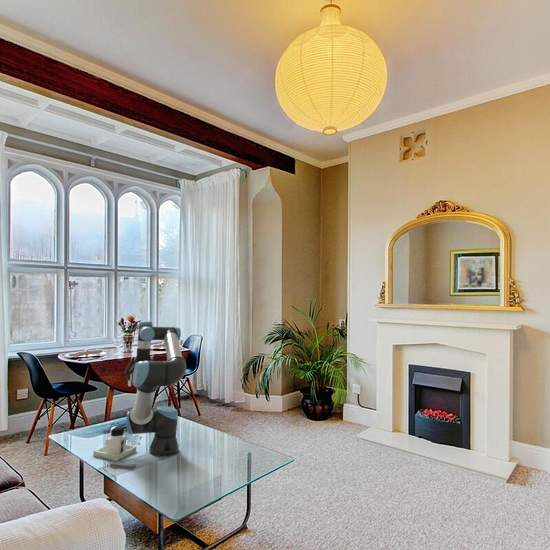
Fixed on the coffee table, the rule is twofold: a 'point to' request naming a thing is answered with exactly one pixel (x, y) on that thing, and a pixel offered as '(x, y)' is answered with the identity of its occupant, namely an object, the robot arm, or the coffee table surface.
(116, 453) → the container
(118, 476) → the coffee table surface
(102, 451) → the parts tray
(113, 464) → the puller tool
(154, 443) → the robot arm
